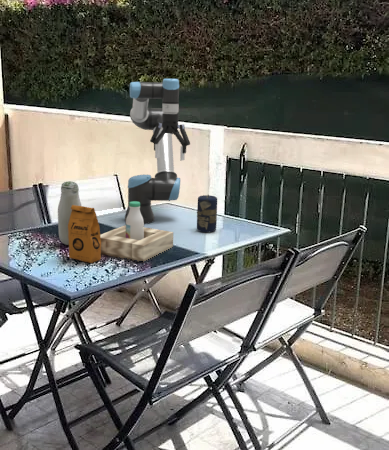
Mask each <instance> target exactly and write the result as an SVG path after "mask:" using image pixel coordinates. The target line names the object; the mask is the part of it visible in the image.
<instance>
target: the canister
mask: <svg viewBox="0 0 389 450" xmlns="http://www.w3.org/2000/svg"><path fill="white" fill-rule="evenodd" d="M197 197H198V198H197V206H196V207H197V208H196V209H197V210H196V229H197V230H198V231H199V232H202V233H212V232H214V231H216V230H217V218H218V217H217V216H218V197H216V196H215V195H209V194H205V195H204V194H203V195H200V196H197Z"/></svg>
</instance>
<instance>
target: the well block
mask: <svg viewBox="0 0 389 450" xmlns="http://www.w3.org/2000/svg"><path fill="white" fill-rule="evenodd" d="M100 237H101V255H105V256H109V257H115V258H119V257H120V259H124V258H127V259H126V260H129V259H132V260H131V261H134V260H137V261H136V262H139V261H143V262H142V263H145V262H144V261H146V260H147V261H149V260H151V259H153V258H155V257H157V256H159V255H160V254H159V253H161V254H163V253H165V252H167V251H169V250H171V249H173V248H174V231H169V230H162V229H157V228H153V227H151V228H150V227H144V239H142V240H135V239H129V238H126V224H125V225H122V226H120V227H116V228H114V229H111V230H109V231H107V232H104V233H100ZM172 247H173V248H172ZM170 248H171V249H170ZM168 249H169V250H168ZM166 250H167V251H166ZM164 251H165V252H164ZM162 252H163V253H162ZM158 254H159V255H158ZM156 255H157V256H156ZM154 256H155V257H154ZM152 257H153V258H152ZM150 258H151V259H150ZM148 259H149V260H148ZM147 261H146V262H147Z"/></svg>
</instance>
